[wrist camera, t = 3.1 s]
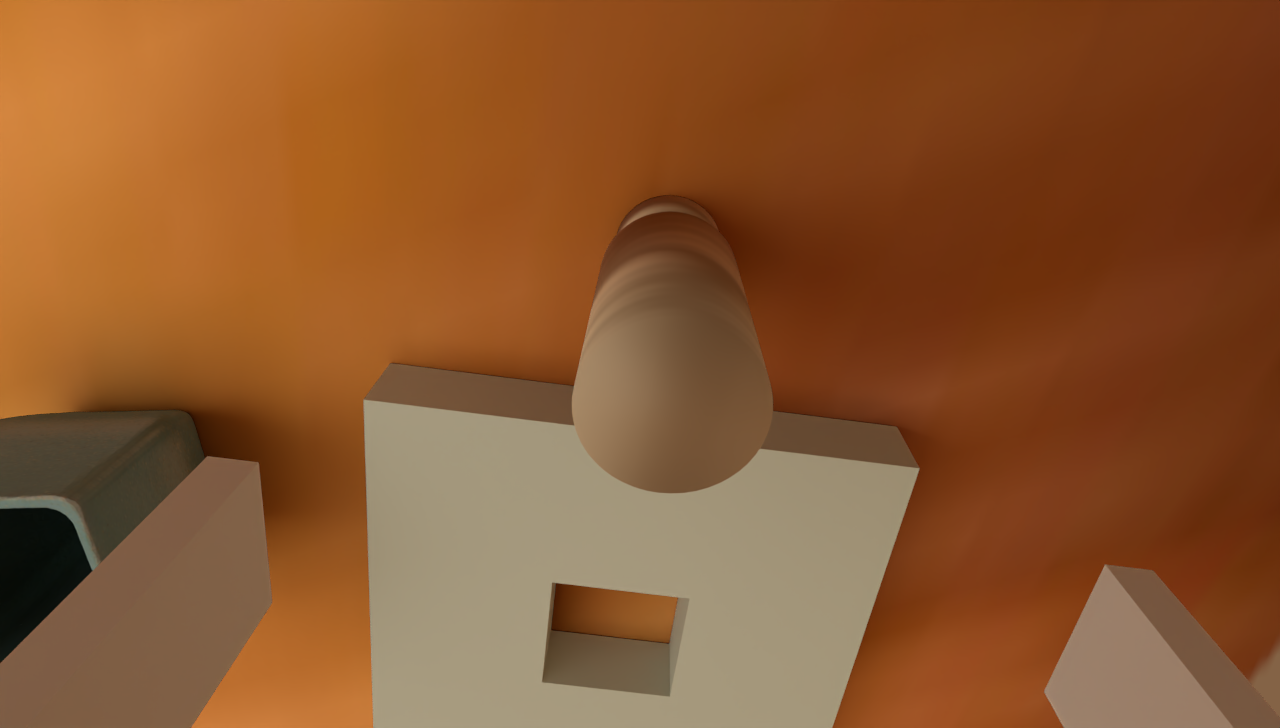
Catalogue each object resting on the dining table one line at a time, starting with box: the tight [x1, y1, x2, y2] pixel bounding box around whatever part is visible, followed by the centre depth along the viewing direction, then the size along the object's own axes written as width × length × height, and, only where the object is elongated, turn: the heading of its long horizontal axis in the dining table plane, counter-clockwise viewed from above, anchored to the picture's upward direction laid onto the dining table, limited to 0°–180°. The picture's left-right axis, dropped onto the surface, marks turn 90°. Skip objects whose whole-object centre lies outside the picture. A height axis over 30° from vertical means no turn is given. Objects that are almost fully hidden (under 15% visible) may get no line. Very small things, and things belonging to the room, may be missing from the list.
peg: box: [572, 195, 773, 494], centre depth 22 cm, size 4×4×12 cm
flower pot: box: [0, 410, 205, 661], centre depth 28 cm, size 9×9×9 cm
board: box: [364, 363, 920, 728], centre depth 33 cm, size 20×20×3 cm
